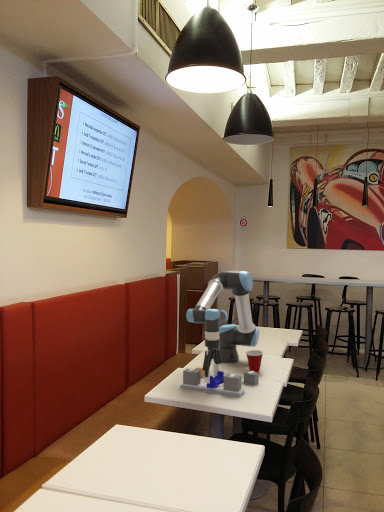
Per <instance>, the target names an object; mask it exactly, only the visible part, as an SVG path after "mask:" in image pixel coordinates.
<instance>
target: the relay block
mask: <svg viewBox="0 0 384 512" xmlns="http://www.w3.org/2000/svg"><path fill="white" fill-rule="evenodd" d="M259 374H260V372H258V373H256V372H255V371H250V370H246V371H244V372H243V384H246V385H251V386H256V385H258V383H259V380H260V379H259V376H260V375H259Z"/></svg>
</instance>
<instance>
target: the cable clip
mask: <svg viewBox="0 0 384 512" xmlns="http://www.w3.org/2000/svg"><path fill="white" fill-rule="evenodd" d="M224 374H225V373H224V370H223V371H222V370H219V371H217V376H214V375H210V383H206V384H207V388H211V389H212V388H214V387H216V386H221V385H222V384H224V376H225V375H224Z"/></svg>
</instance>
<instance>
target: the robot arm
mask: <svg viewBox="0 0 384 512" xmlns="http://www.w3.org/2000/svg"><path fill="white" fill-rule="evenodd" d="M253 280H254V279H253V277H252V274H251V273H250V272H249V271H246V270H245V271H244V270H241V271H240V270H223V271H220V272H218V273H217V274H214V275H213V277H211V278H210V280H209V281H208V283H207V287H206V289H205V291H204V292H203V294H202V296H201V297H200V298H199V300H198V302H197V304H196V305H195V307H194V308H189V309H187V311H186V315H185V316H186V320H187V322H189V323H194V324H204V332H203V333H204V339H205V340H204V346H205V347H206V348H207V350H204V359H203V363H202V366H203V369H202V370H204V377H203V379H204V383H203V384H207V383H210V376H211V370H210V367H211V363H212V360H213V362H214V363H213V377H215V376H217V371H220V365H221V364H222V363H236V362H239V361H240V355H239V353H238V352H239V351H238V349H237V346H243V347H253V348H254V347H256V346H257V345H258V342H259V340H260V339H259V338H260V329H258V328H256V324H254V322H253V318H252V317H253V316H252V310H251V309H252V308H251V303H250V296H249V295H250V292H251V291H252V290H253V287H254V281H253ZM224 290H228V291H231V294H232V295H233V296H234V298H235V299H234V300H235V305H236V311H237V318H238V325H237V324H235V323H231V324H225V323H226V322H227V320H228V317H229V316H228V315H229V314H228V313H227V312H226V310H224V309H218V308H211V307H212V306H213V304H214V302H215V300H216V298H217V296H218V295H219V293H220V294H221V293H222V292H223V291H224ZM222 324H223V325H222ZM220 325H221V326H220Z"/></svg>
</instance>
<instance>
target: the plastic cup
mask: <svg viewBox="0 0 384 512" xmlns="http://www.w3.org/2000/svg"><path fill="white" fill-rule="evenodd" d="M263 354H264V351H263V350H258V349H252V350H246V351H245V356H246V359H247V363H248V369H249V370H248V371H255V372H256V373H260V369H261V365H262V360H263V359H262V358H263Z"/></svg>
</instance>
